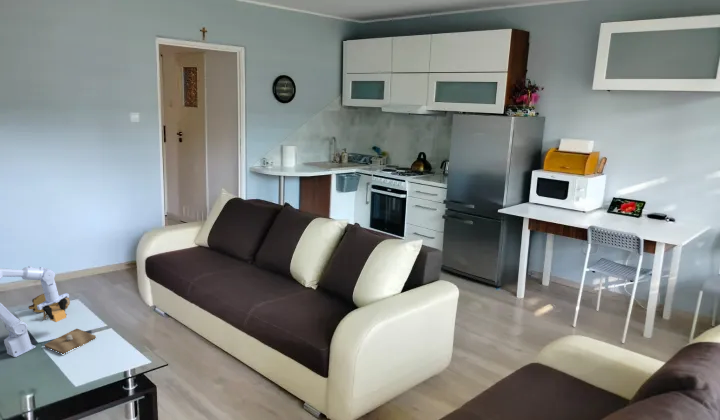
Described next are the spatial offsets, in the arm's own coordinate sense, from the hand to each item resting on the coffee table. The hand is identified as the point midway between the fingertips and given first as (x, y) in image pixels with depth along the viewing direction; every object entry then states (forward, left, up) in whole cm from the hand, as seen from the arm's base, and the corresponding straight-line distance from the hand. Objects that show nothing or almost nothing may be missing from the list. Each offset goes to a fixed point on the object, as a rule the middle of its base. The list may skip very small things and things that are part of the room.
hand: (57, 316), depth 254 cm
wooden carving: (+10, +33, -9) cm, 36 cm away
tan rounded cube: (0, 0, -1) cm, 1 cm away
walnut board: (-4, -15, -9) cm, 18 cm away
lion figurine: (+9, +20, -9) cm, 24 cm away
